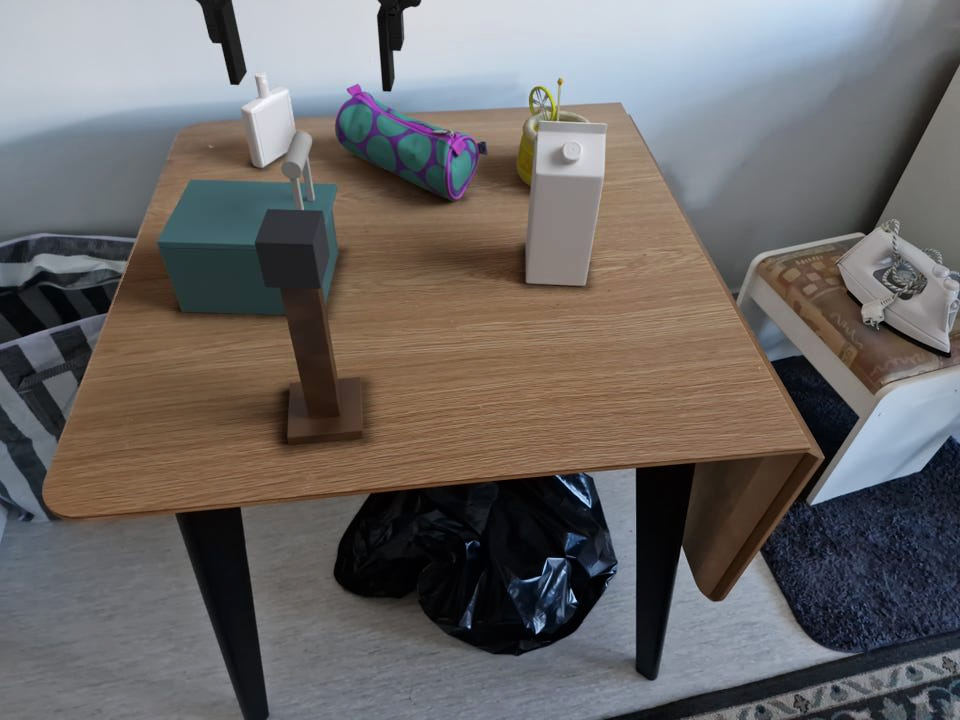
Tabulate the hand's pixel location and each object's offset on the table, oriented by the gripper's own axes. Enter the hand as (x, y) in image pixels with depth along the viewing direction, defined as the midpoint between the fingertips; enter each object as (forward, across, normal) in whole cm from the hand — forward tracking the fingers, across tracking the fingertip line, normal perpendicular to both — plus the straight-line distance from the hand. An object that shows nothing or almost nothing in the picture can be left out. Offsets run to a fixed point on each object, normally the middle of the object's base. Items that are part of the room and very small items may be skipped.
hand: (313, 82), depth 65 cm
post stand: (+26, -1, +18) cm, 31 cm away
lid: (+17, +9, -2) cm, 19 cm away
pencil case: (+26, -4, -27) cm, 38 cm away
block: (+8, -1, +18) cm, 19 cm away
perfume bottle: (+26, +15, -30) cm, 43 cm away
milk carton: (+26, -24, -7) cm, 36 cm away
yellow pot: (+26, -25, -28) cm, 46 cm away
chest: (+26, +10, -2) cm, 28 cm away
